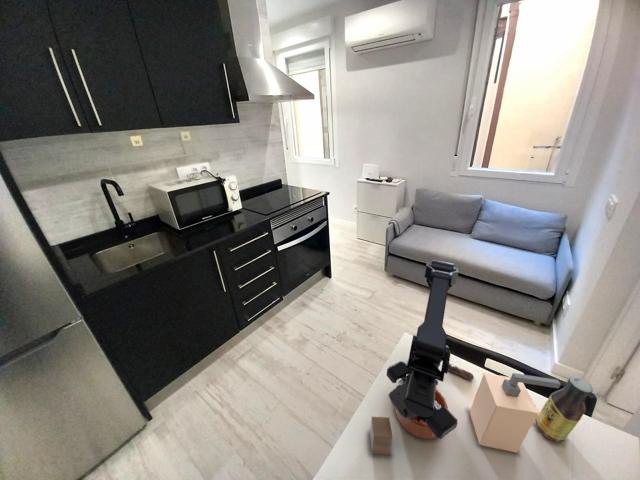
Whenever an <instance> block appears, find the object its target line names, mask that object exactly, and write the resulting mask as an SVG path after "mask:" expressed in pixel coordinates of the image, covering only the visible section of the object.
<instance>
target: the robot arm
mask: <svg viewBox="0 0 640 480" xmlns="http://www.w3.org/2000/svg"><path fill="white" fill-rule="evenodd" d="M423 276H424V278H425V279H426V283H427V286H428V288H429V293H428V299H427V303H426V309H425V313H424V318H423V322H422V323H421V324H420V325H419V326H418V327H417V331H416V335H415V334H413V335H412V338H411V339H412V340H411V345H410V349H409V350H410V351H409V354H408V360H407V363H405V362H404V361H402V360H401V361H397V362H396V363H394V364H392V365H389V366H388V368H387V369H386V377H387V378H388V380H389V381H390V382H391V383H392V384H396V383H398V385H396V387H395V388H394V389H392V390H391V391H390V392H389V393H388V398H389V400H390V403H391V404H392V406H393V407H394V408H396V409H397V411H398V412H399V414H400V415H401V416H404V418H405V419H406V418H407V417H408V418H409V419H410V420H413V419H414V418H415V417H416V416H417V415H418V417H417V421H418V422H419V421H421V420H422V421H423V422H427V425H428V427H429V428H430V429H431V431H432V432H433V433H434V434H435V436H436V437H435V438H437V439H443V438H444V437H445V436H447V435H448V434H449V433H451V432H452V431H454V430H455V429H456V428H457V427H458V426H457V425H459V423H458V419H457V417H456V416H455V415H454V414H453V413H452V412H451V411H450V409H449V408H448V409H447V408H446V407H445V406H443V407H441V406H440V405H439V404H438V403H437V402H436V401H435V392H436V389H437V386H438V384H439V382H442V383H443V382H444V379H445V374H447V375H448V373H449V372H448V371H449V370H448V367H449V363H450V360H451V359H450V358H451V351H450V348H449V345H448V344H447V339H448V335H447V332H446V330H445V329H444V328H445V327H444V325H443V324H444V318H445V312H446V311H445V310H446V306H447V305H446V304H447V299H448V298H447V297H448V291H449V290H450V289H451V288H452V287H453V285H456V284H457V280H458V276H459V268H457V267H455V263H453V262H447V261H442V260H437V259H431V262H426V265H425V270H424V275H423ZM440 366H441V369H440V368H439V367H440ZM400 379H401V380H400ZM396 409H395V410H396Z"/></svg>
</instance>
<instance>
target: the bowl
mask: <svg viewBox="0 0 640 480" xmlns="http://www.w3.org/2000/svg"><path fill="white" fill-rule="evenodd" d="M435 401H436V402H437V403H438V404H439V405H440V406H441V407H443V406H445V407H446V408H447V409H448V410H449V407H448V403H447V400H446V399H445V397H444V396H443V395H442V393H441V391H439V390H438V389H437V388H436V392H435ZM394 408H395V407H394ZM395 414H396V417H397V419H398V421H399V422H400V424H401V426H402V427H403V428H404V429H405V430H406V431H407V432H408V433H410V434H411V435H412V436H415V437H417V438H420V439H424V440H431V439H432V440H433V439H435V438H437V437H436V436H435V434H434V433H433V432H432V431H431V429H430V428H429V427H428V425H427V422H423V421H422V420H421V421H419V422H418V421H417V420H414V419H413V420H410V419H409V418H408V417H407V418H406V419H405V418H404V416H401V415H400V414H399V412H398V411H397V409H396V408H395Z"/></svg>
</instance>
